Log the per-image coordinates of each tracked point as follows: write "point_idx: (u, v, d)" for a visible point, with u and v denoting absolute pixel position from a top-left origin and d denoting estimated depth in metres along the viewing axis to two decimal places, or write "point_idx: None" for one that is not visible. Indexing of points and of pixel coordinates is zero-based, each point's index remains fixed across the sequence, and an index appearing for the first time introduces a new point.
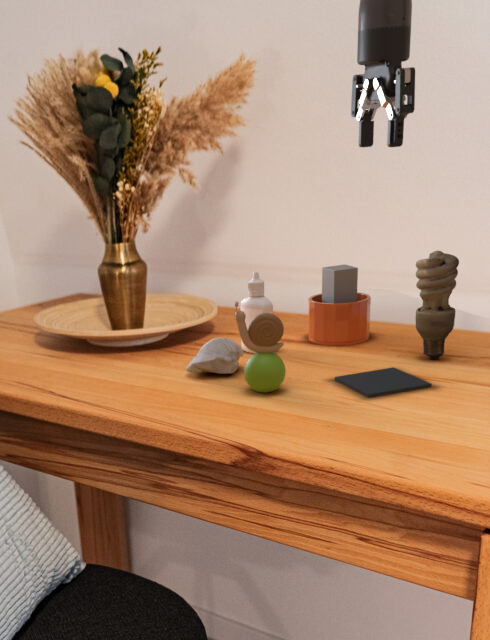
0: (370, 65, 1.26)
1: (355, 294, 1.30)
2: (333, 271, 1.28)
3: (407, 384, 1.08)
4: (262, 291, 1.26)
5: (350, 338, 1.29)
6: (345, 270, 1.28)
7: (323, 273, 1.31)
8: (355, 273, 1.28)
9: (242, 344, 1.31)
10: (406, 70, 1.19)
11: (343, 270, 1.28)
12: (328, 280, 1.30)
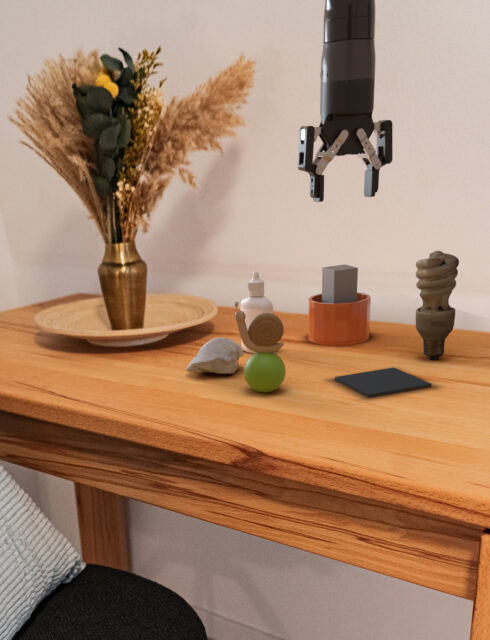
0: None
1: (355, 294, 1.30)
2: (333, 271, 1.28)
3: (407, 384, 1.08)
4: (262, 291, 1.26)
5: (350, 338, 1.29)
6: (345, 270, 1.28)
7: (323, 273, 1.31)
8: (355, 273, 1.28)
9: (242, 344, 1.31)
10: (303, 129, 1.20)
11: (343, 270, 1.28)
12: (328, 280, 1.30)
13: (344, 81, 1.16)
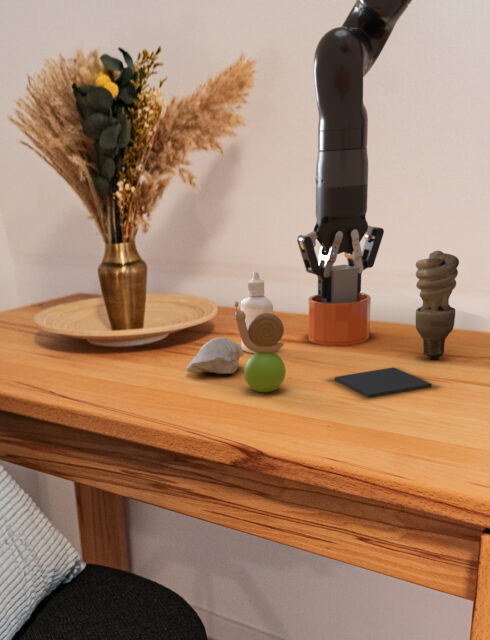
0: None
1: (355, 294, 1.30)
2: (333, 271, 1.28)
3: (407, 384, 1.08)
4: (262, 291, 1.26)
5: (350, 338, 1.29)
6: (345, 270, 1.28)
7: None
8: (355, 273, 1.28)
9: (242, 344, 1.31)
10: (300, 240, 1.26)
11: (343, 270, 1.28)
12: None
13: (338, 188, 1.21)
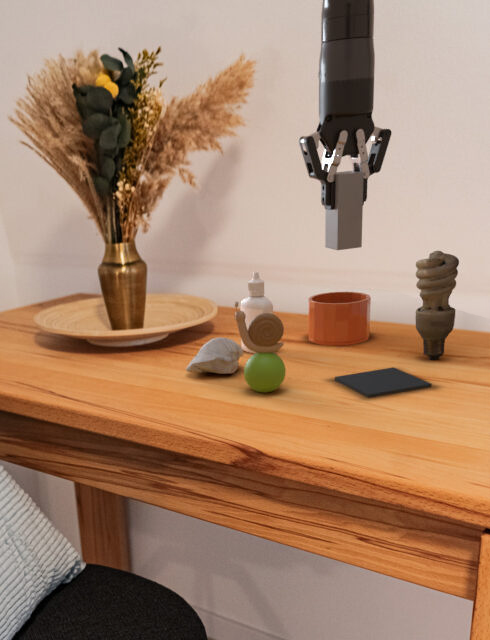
0: None
1: (361, 201, 1.22)
2: (337, 175, 1.20)
3: (407, 384, 1.08)
4: (262, 291, 1.26)
5: (350, 338, 1.29)
6: (350, 174, 1.20)
7: None
8: (361, 178, 1.21)
9: (242, 344, 1.31)
10: (302, 141, 1.19)
11: (348, 174, 1.20)
12: None
13: (342, 81, 1.14)
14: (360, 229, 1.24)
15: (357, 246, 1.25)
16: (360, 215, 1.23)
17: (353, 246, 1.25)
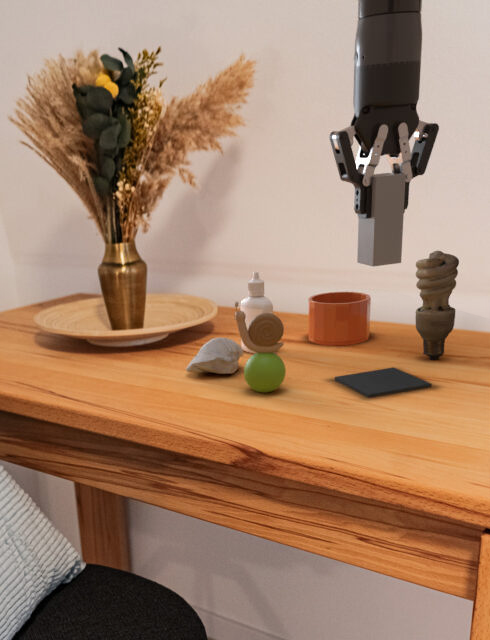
0: None
1: (401, 208, 1.03)
2: (375, 178, 1.01)
3: (407, 384, 1.08)
4: (262, 291, 1.26)
5: (350, 338, 1.29)
6: (390, 176, 1.01)
7: None
8: (402, 181, 1.02)
9: (242, 344, 1.31)
10: (333, 136, 1.00)
11: (387, 176, 1.01)
12: None
13: (384, 65, 0.95)
14: (400, 242, 1.05)
15: (396, 262, 1.06)
16: (400, 225, 1.04)
17: (391, 262, 1.06)
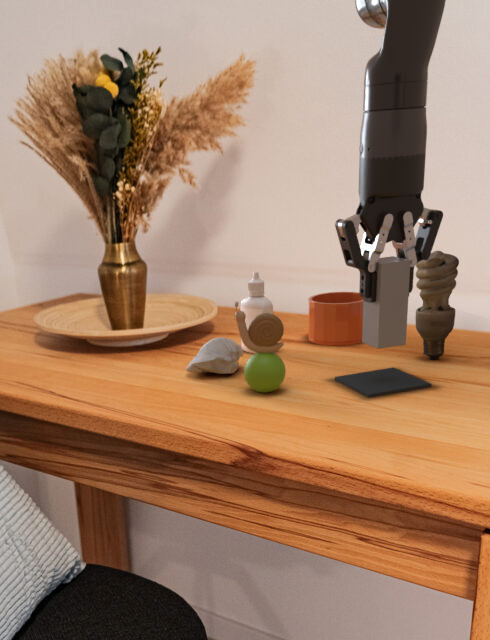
0: None
1: (406, 293, 1.04)
2: (380, 264, 1.02)
3: (407, 384, 1.08)
4: (262, 291, 1.26)
5: (350, 338, 1.29)
6: (395, 263, 1.02)
7: None
8: (407, 267, 1.03)
9: (242, 344, 1.31)
10: (339, 225, 1.01)
11: (392, 263, 1.02)
12: None
13: (390, 158, 0.96)
14: (405, 324, 1.06)
15: (401, 344, 1.07)
16: (405, 309, 1.05)
17: (396, 344, 1.07)
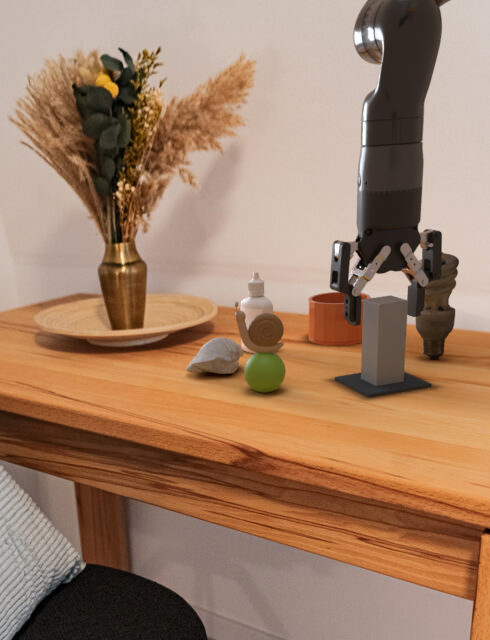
0: None
1: (404, 332, 1.06)
2: (378, 305, 1.04)
3: (407, 384, 1.08)
4: (262, 291, 1.26)
5: (350, 338, 1.29)
6: (393, 303, 1.04)
7: (364, 306, 1.07)
8: (405, 307, 1.05)
9: (242, 344, 1.31)
10: (336, 244, 1.02)
11: (390, 303, 1.04)
12: (371, 315, 1.06)
13: (387, 192, 0.97)
14: (402, 362, 1.08)
15: (399, 381, 1.09)
16: (403, 347, 1.07)
17: (394, 381, 1.09)
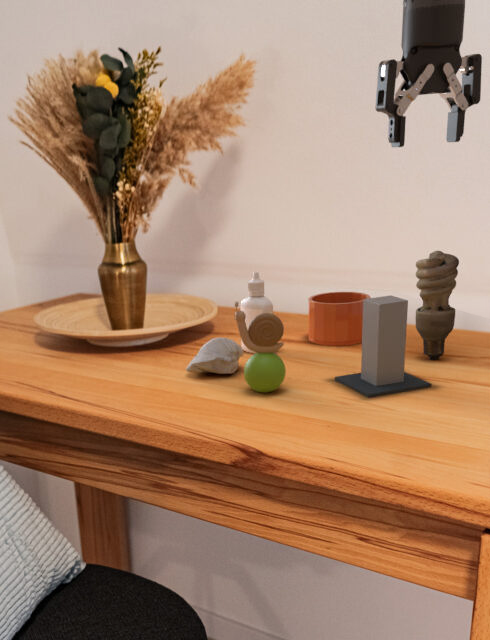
0: None
1: (404, 332, 1.06)
2: (378, 305, 1.04)
3: (407, 384, 1.08)
4: (262, 291, 1.26)
5: (350, 338, 1.29)
6: (393, 303, 1.04)
7: (364, 306, 1.07)
8: (405, 307, 1.05)
9: (242, 344, 1.31)
10: (383, 63, 1.08)
11: (390, 303, 1.04)
12: (371, 315, 1.06)
13: (432, 7, 1.03)
14: (402, 362, 1.08)
15: (399, 381, 1.09)
16: (403, 347, 1.07)
17: (394, 381, 1.09)
